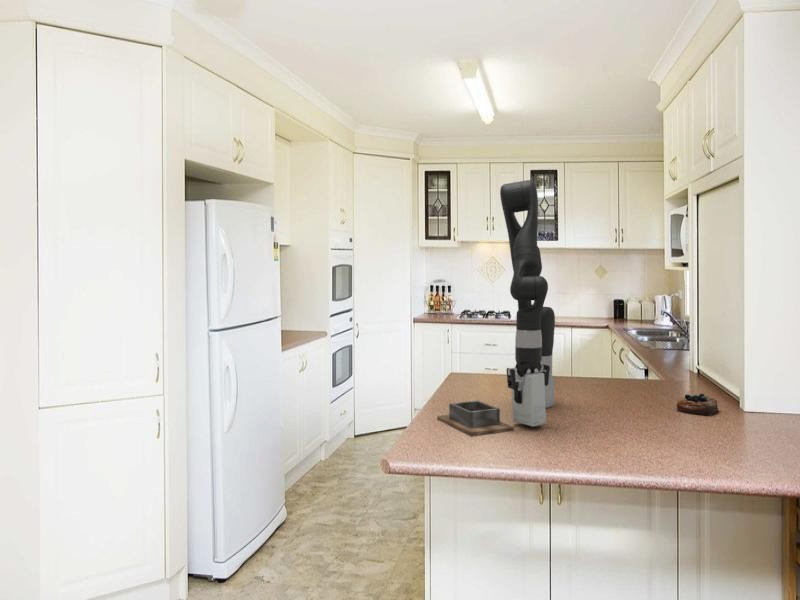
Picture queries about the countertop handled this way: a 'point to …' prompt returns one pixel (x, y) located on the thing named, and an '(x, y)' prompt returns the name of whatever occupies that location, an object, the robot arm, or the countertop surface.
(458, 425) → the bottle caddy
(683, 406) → the pastry
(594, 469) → the countertop surface
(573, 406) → the countertop surface
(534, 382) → the skincare box
